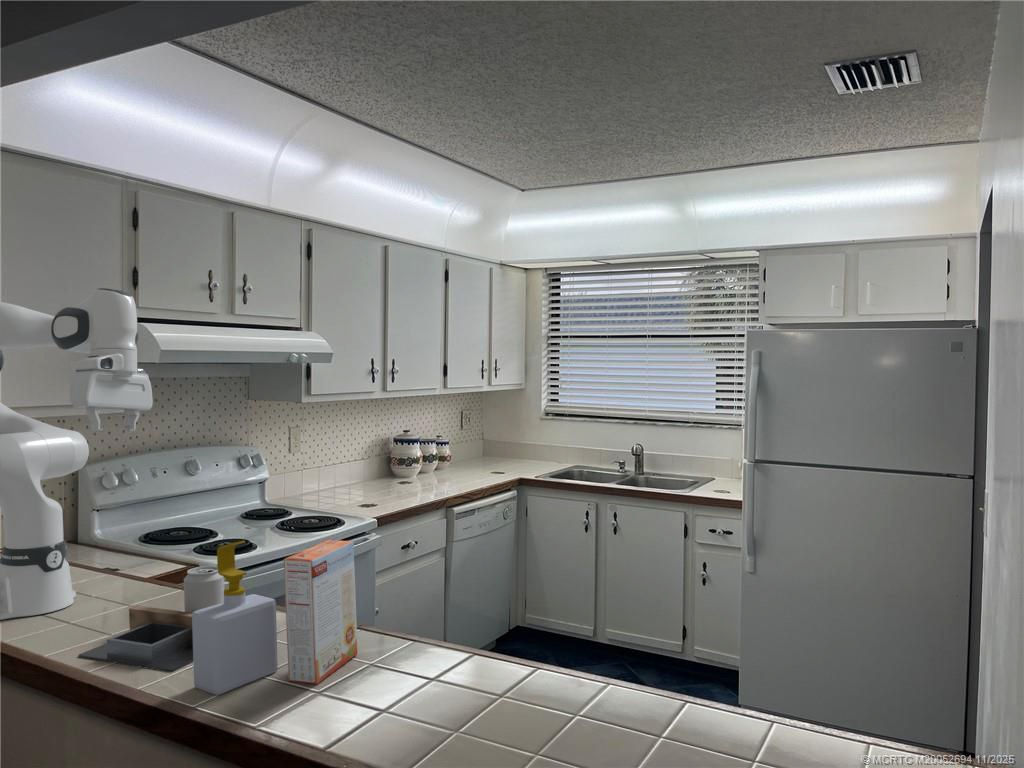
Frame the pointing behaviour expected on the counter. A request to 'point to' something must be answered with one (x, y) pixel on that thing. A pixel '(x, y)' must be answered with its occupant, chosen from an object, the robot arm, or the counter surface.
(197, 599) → the can
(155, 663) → the socket
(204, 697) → the counter surface
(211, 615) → the soap bottle
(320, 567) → the cracker box
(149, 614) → the wooden plank
